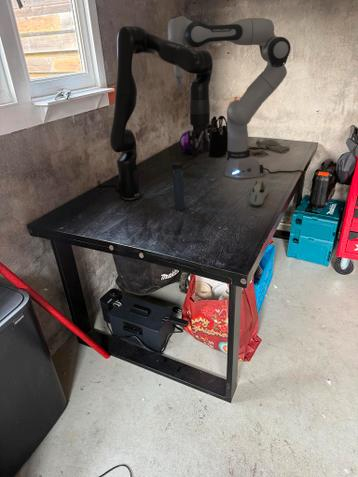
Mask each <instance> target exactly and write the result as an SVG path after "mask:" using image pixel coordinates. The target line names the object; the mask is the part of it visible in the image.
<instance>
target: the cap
mask: <svg viewBox="0 0 358 477" xmlns="http://www.w3.org/2000/svg"><path fill="white" fill-rule="evenodd" d="M172 169H173V170H174V169H181V170H182V169H183V162H182V161H174V162H173V163H172Z"/></svg>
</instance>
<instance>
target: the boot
mask: <svg viewBox="0 0 358 477" xmlns="http://www.w3.org/2000/svg"><path fill="white" fill-rule="evenodd" d="M217 119H218V118H217V116H216V115H215V116H212V117H211V118H210V124H211V128H212V129H213V128H214V126H215V123H216V121H217ZM217 128H219V123H217V124H216V128H215V129H217ZM213 130H214V129H213Z"/></svg>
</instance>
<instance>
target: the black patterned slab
mask: <svg viewBox="0 0 358 477" xmlns="http://www.w3.org/2000/svg"><path fill="white" fill-rule="evenodd" d="M216 119H217V121H216V123H215V126H214V128H213V129H214V130H213V129H212V139H210V141H209V151H208V156H210V157H214V158H222V157H224V156H226V152H227V148H228V131H227V118H226V117H225V116H224V115H219V117H217V118H216ZM223 122H224V123H225V125H223ZM216 124H218V128H217V129H215V128H216Z"/></svg>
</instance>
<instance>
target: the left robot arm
mask: <svg viewBox="0 0 358 477" xmlns="http://www.w3.org/2000/svg"><path fill="white" fill-rule="evenodd" d="M116 53H117V54H116V58H117V60H116V61H117V62H116V64H117V67H116V68H117V69H116V84H115V94H114V109H113V118H112V126H111V130H110V136H109V137H110V138H109V144H110V147H111V149H112V151H113V152H115V153H120V154H119V157H117V159H116V165H117V171H118V178H119V179H117V180H118V184H114V183H113V184H111V183H110V184H100V180H99V181H98V180H97V184H98V186H99V187H116V191H119V194H120V198H121V199H122V200H125V201H133V200H137V199H139V198H140V197H141V193H140V183H139V174H138V168H137V167H138V166H137V157H138V153H137V150H138V149H137V140H136V139H137V138H136V136H135V134H134V133H133V131H132V130H131V129H129V128H127V125H128V122H129V120H130V119H131V117H132V115H133V113H134V111H135V109H136V106H137V101H138V92H139V89H138V85H137V81H136V78H135V76H134V72H133V59H134V55H138V54H151V55H155V56H157V57H158V58H159V59H160V60H162V61H163V62H164V63H168V64H169V65H173V66H174V65H175V66H179V67H180V68H182V69H183V71H184V72H186V73H189V74H194V75H195V76H194V80H193V81H191V83H190V85H189V121H190V122H189V124H190V125H191V126H192V130H187V131H188V147H192V153H191V155H192V158H197V157H199V149H198V148H197V146H198V143H199V142H200V141H201V142H202V151H203V152H205V153H206V152H209V148H210V139H212V128H211V124H210V122H211V104H210V83H211V79H212V74H213V67H214V62H213V57H212V54H211V53H210V52H209V51H208V50H204V49H203V50H192V49H189V47H188V46H187V47H186V46H184V45H181V44H178V43H175V42H172V41H169V40H168V39H165V38H162V37H159V36H157V35H155V34H153V33H151V32H150V31H148V30H146V29H144V28H143V27H141V26H137V25H123V26H122V27H120V29H119V31H118V33H117V38H116ZM195 138H196V139H195ZM191 141H192V142H191ZM195 142H196V144H195Z"/></svg>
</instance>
